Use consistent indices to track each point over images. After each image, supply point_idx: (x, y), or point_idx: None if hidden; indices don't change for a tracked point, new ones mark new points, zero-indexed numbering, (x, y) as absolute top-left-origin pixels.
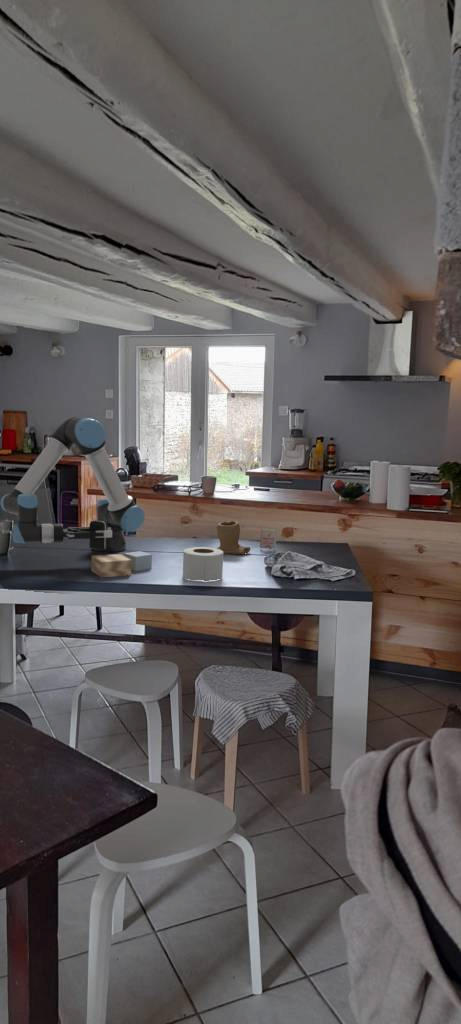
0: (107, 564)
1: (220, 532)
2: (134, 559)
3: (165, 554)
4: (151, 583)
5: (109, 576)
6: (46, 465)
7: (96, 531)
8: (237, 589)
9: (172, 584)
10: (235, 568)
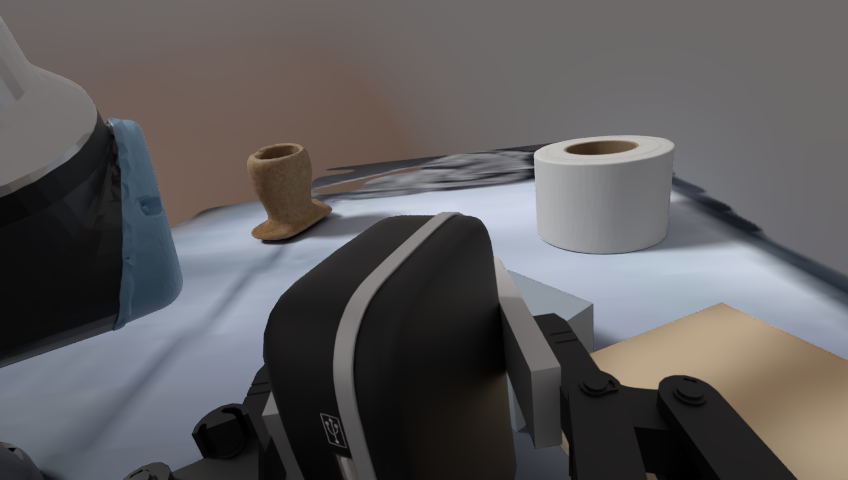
0: None
1: (289, 178)
2: (584, 325)
3: (246, 320)
4: (815, 299)
5: None
6: None
7: (558, 364)
8: (694, 186)
9: (762, 257)
10: (465, 209)
